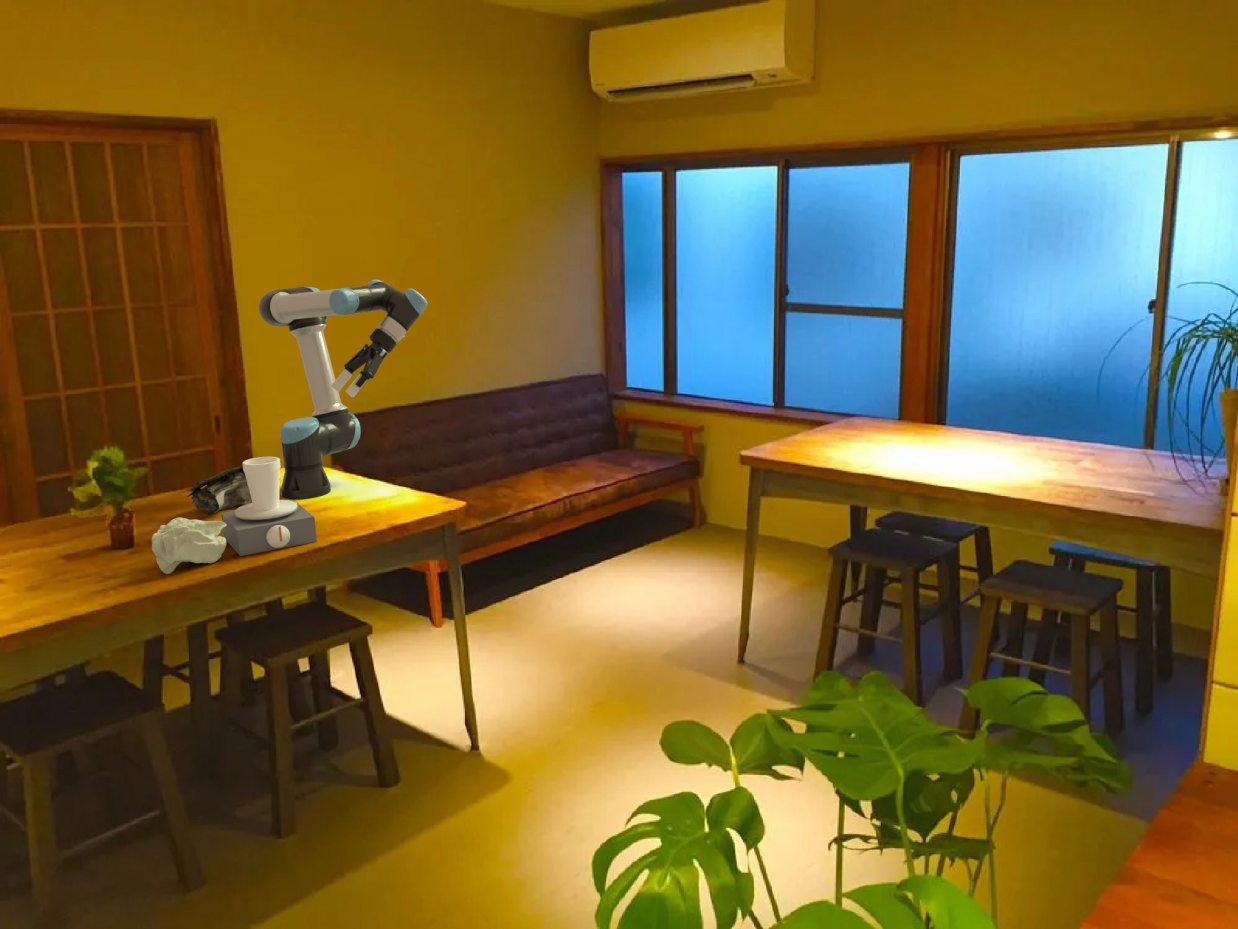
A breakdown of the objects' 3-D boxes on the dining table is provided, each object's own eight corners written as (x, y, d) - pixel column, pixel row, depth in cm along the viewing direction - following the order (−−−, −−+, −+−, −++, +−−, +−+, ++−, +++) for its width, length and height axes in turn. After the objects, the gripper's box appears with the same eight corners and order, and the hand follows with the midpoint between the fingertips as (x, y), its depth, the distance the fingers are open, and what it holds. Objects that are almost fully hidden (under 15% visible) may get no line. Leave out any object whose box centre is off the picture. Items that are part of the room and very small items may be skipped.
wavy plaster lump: (202, 582, 268) (210, 524, 272) (227, 579, 260) (235, 519, 264) (133, 573, 255) (142, 511, 259) (157, 569, 247) (167, 505, 251)
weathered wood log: (200, 534, 303) (221, 502, 296) (171, 503, 305) (192, 470, 298) (266, 506, 328) (287, 476, 321) (239, 478, 329) (260, 447, 322)
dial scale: (224, 537, 284) (220, 506, 281) (297, 524, 294) (293, 493, 292) (241, 557, 266) (236, 524, 264) (318, 542, 276) (314, 510, 274)
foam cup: (290, 502, 282) (285, 456, 279) (276, 512, 274) (271, 464, 270) (257, 502, 283) (251, 456, 280) (242, 512, 274) (236, 465, 271)
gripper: (411, 347, 293) (365, 405, 289) (382, 340, 314) (338, 394, 310) (392, 330, 289) (345, 389, 285) (363, 324, 310) (319, 378, 306)
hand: (341, 392), depth 298 cm, fingers open, 13 cm apart
